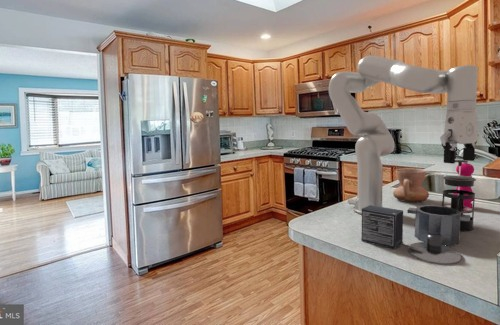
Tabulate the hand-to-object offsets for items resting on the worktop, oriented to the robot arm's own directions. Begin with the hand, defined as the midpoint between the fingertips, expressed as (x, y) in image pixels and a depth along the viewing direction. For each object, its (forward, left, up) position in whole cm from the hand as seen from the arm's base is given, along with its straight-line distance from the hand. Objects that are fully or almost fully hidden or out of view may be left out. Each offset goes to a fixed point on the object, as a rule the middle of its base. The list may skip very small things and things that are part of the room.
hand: (459, 161), depth 96 cm
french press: (0, +6, -23) cm, 24 cm away
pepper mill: (0, +34, -23) cm, 41 cm away
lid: (-3, -22, -24) cm, 33 cm away
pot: (-4, -9, -23) cm, 25 cm away
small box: (-17, -21, -24) cm, 36 cm away
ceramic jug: (-20, +35, -24) cm, 46 cm away
